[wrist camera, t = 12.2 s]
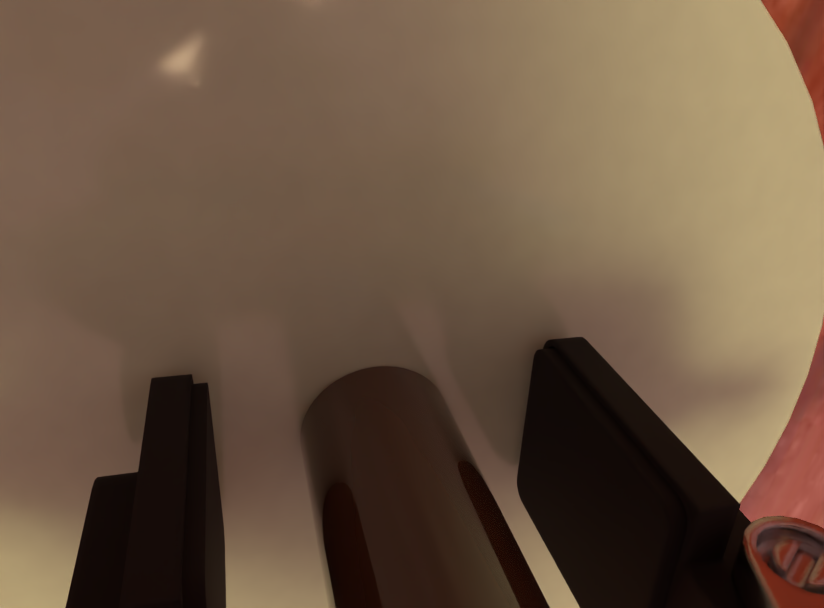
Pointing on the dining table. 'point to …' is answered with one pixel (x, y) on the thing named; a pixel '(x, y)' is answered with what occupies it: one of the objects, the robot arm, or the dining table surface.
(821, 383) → the dining table surface
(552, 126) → the lid
